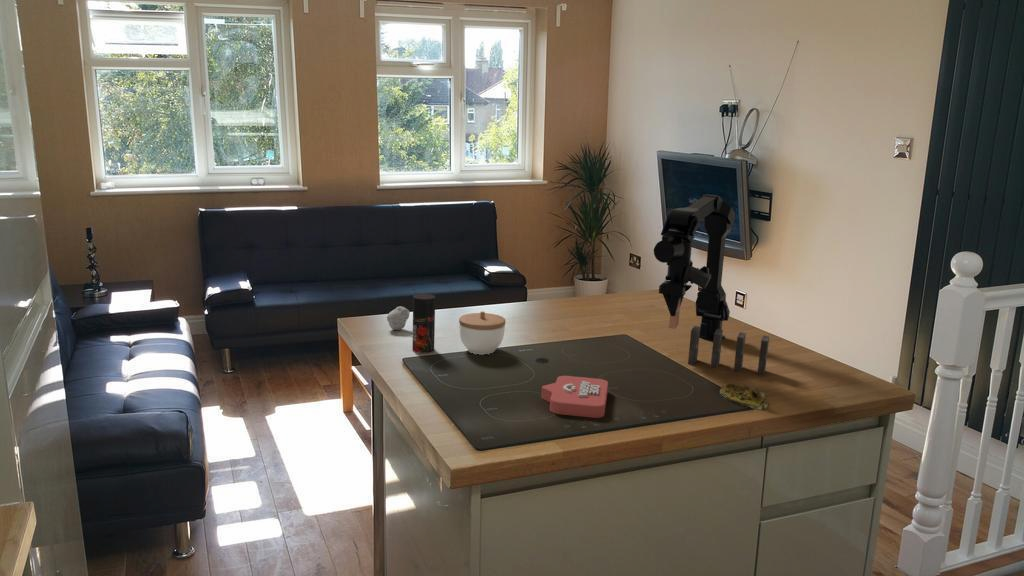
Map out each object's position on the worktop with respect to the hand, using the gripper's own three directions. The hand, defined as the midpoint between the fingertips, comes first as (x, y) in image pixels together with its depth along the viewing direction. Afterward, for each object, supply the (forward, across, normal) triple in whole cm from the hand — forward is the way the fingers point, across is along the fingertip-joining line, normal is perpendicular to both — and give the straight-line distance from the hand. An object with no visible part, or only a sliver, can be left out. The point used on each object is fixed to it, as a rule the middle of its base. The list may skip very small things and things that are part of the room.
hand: (674, 313), depth 211 cm
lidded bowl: (+13, -20, +48) cm, 54 cm away
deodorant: (+12, -27, +62) cm, 69 cm away
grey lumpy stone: (+13, -14, +78) cm, 80 cm away
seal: (+13, -22, -22) cm, 33 cm away
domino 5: (+13, 0, -24) cm, 27 cm away
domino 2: (+13, 0, -6) cm, 14 cm away
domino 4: (+13, 0, -18) cm, 22 cm away
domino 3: (+13, 0, -12) cm, 17 cm away
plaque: (+13, -43, +14) cm, 47 cm away
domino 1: (+4, 0, 0) cm, 4 cm away
